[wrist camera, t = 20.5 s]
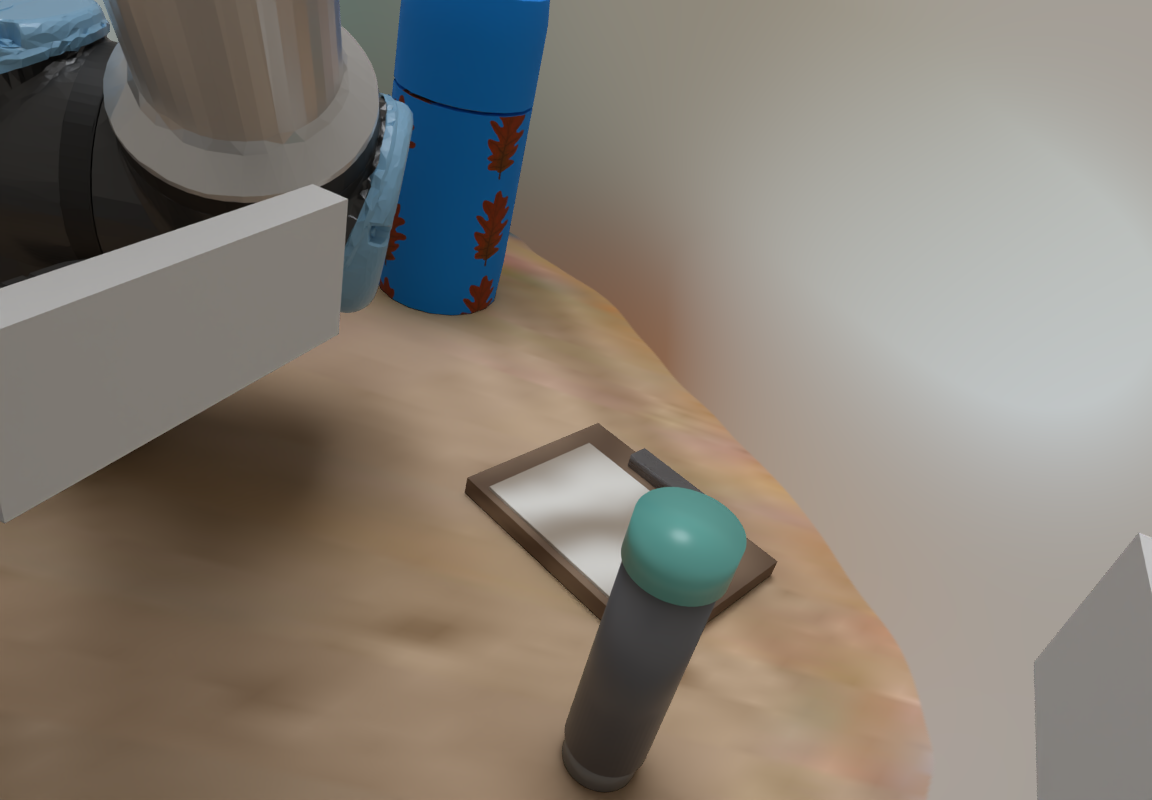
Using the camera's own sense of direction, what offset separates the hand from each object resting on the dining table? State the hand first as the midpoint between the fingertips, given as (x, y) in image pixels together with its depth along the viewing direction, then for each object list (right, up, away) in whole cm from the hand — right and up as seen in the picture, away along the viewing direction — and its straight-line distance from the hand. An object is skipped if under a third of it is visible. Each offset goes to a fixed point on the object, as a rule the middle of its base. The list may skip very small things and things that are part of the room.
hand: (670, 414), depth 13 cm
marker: (0, -17, +26) cm, 31 cm away
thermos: (-14, +10, +61) cm, 64 cm away
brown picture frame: (+1, -8, +39) cm, 40 cm away
